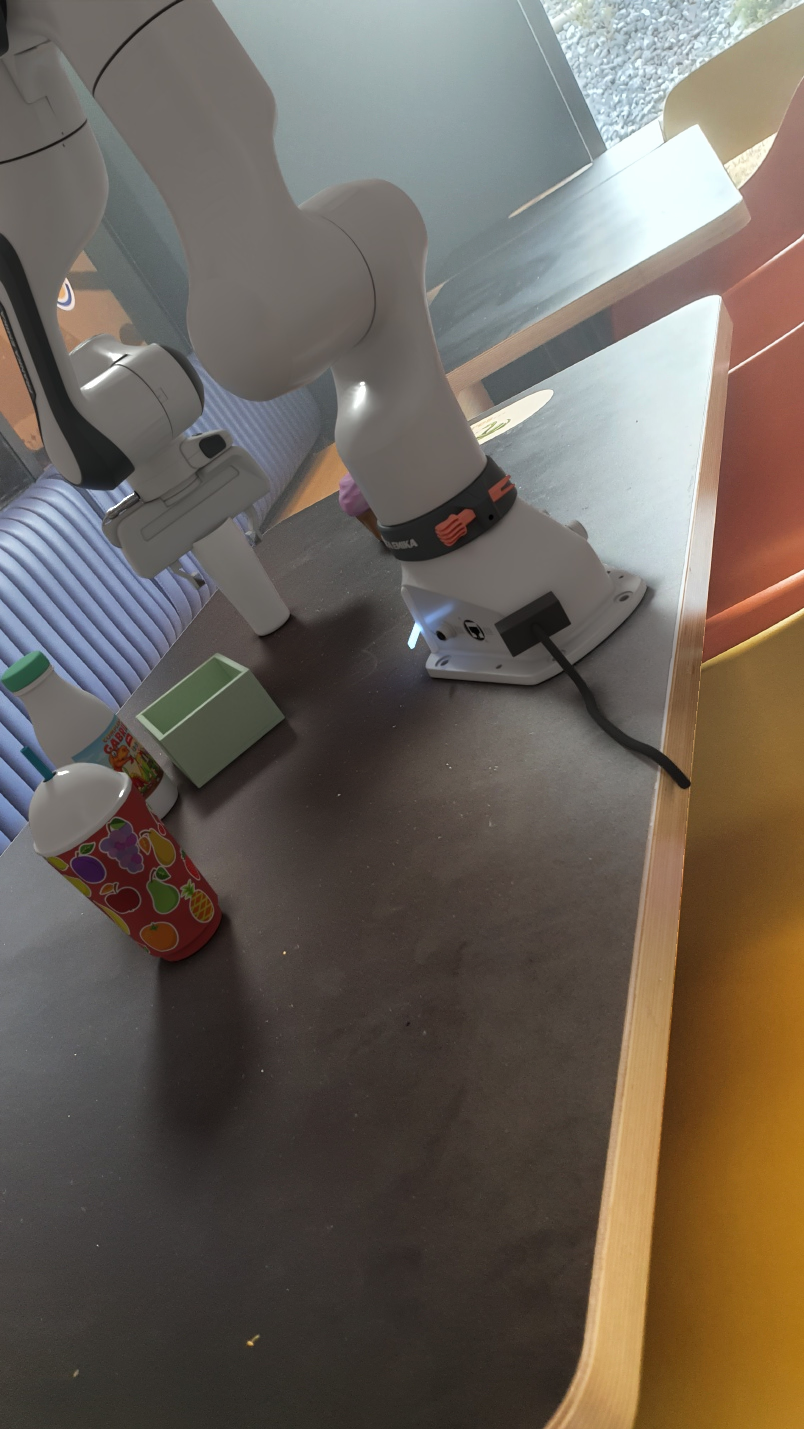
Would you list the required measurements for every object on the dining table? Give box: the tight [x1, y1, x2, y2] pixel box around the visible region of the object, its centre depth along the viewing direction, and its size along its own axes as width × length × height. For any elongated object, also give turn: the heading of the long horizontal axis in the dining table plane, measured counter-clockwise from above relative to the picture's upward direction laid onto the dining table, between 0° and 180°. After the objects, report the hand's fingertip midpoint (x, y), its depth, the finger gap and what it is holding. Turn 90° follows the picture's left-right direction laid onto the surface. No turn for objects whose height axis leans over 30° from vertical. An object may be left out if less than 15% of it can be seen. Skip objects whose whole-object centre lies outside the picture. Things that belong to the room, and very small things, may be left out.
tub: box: [135, 652, 286, 789], centre depth 103 cm, size 11×11×7 cm
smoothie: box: [19, 745, 222, 962], centre depth 72 cm, size 8×8×20 cm
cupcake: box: [338, 472, 384, 542], centre depth 129 cm, size 9×9×10 cm
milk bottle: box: [0, 650, 179, 821], centre depth 95 cm, size 8×8×20 cm
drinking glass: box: [189, 517, 291, 637], centre depth 123 cm, size 7×7×15 cm
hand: (229, 564), depth 122 cm, fingers open, 8 cm apart
